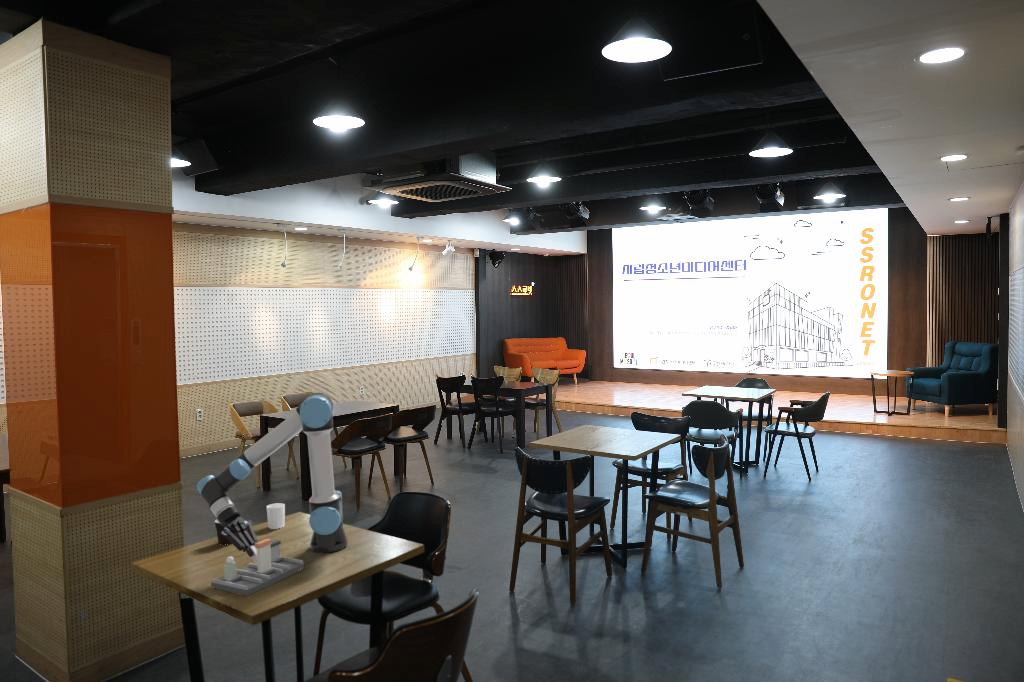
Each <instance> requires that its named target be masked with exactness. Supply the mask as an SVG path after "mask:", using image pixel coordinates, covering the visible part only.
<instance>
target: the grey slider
mask: <svg viewBox="0 0 1024 682" xmlns="http://www.w3.org/2000/svg"><path fill="white" fill-rule="evenodd" d="M281 543H282V540H279V539H274V540H272V544H270V547H271V562H272V563H276V562H278V561H280V560H282V557H280V556H281V549H280V548H281V547H280V545H281Z"/></svg>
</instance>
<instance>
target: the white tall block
mask: <svg viewBox="0 0 1024 682" xmlns="http://www.w3.org/2000/svg"><path fill="white" fill-rule="evenodd" d="M272 541H273V540H272V539H270V538H265V539H263V540H260V541H258V542H257V543H255V548H257V568H258V571H255V573H259V574H264V575H267V574H269V573H271V572H273V571H274V568H271V547H270V544H272Z"/></svg>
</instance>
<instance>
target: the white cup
mask: <svg viewBox="0 0 1024 682" xmlns="http://www.w3.org/2000/svg"><path fill="white" fill-rule="evenodd" d="M266 514H267V524H268V529H269V528H270V529H269V530H280V529H283V528H284V527H285V520H286V518H285V517H286V504H285V503H284V502H283V503H281V502H278V503H277V502H275V503H271V504H268V505H266ZM272 521H273V522H272ZM282 527H283V528H282ZM279 528H280V529H279Z"/></svg>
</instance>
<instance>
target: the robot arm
mask: <svg viewBox="0 0 1024 682" xmlns="http://www.w3.org/2000/svg"><path fill="white" fill-rule="evenodd" d="M333 411H334V404H333V401H332V399H331V397H330V396H328V394H325V393H323V392H314V393H311V394H309V395H308V396H307V397H306V398H305V400H304V401H302V403H300V404H299V405H298V406H297V407H296V408H295V410H294V413H292V414H291V415H290V416H288V417H287V418H286V419H284V421H282V422H280V424H278V425H277V426H275V428H274V427H273V429H272V430H270V431H269V432H268V433H266V434H265V435H264V436H262V437H261V438H260V439H259V440H257V441H256V442H254V444H252V445H251V446H250V447H248V448H247V449H246V450H244V452H242V453H241V454H239V455H238V456H236V457H235V458H233V459H232V461H230V464H228V465H227V466H226V467H225V468H224V469H223V470H222V471H221V472H219V473H218V474H217V475H213V474H210V475H207V476H205V477H204V478H201V479H200V480H199V481H198V482H197V485H196V489H197V491H198V493H199V494H200V497H201V498H202V499H203V500H204V502H205V503H206V504H207V506H208V508H209V509H210V511H211V512H212V513H213V515H214V516H215V518H216V520H218V521H219V523H220V524H221V525H222V526H223V528H224V530H223V531H222V533H221V535H222V536H224V537H226V538H227V539H228V540H229V541H230V542H231V543H232V544H231V545H233V546H234V547H235V548H236V549H237V550H238V551H239V552H243V553H246V554H247V555H248V557H249V558H251V559H252V560H253V562H254V563H256V565H257V548H255V543H257V542H259V540H258V537H257V535H256V533H255V530H254V527H253V525H252V520H251V519H248V521H247V520H245V519H244V518H242V517H241V513H240V511H239V509H238V508H237V507H236V506H235V504H234V502H233V501H232V500H231V498H230V497H229V496H228V493H229V492H230V491H231V490H232V489H233V488H235V487H236V486H237V485H239V484H240V483H241V482H242V481H243V480H245V479H246V478H247V477H248V476H249V475H250V474H251V472H252V470H253V469H255V468H256V467H257V466H258V465H259V464H261V463H262V462H263V461H265V460H267V458H268V457H270V456H271V455H273V454H274V453H275V452H276V451H278V450H279V449H280V448H282V447H283V446H284V445H285V444H288V442H289V441H290V440H292V439H293V438H294V437H296V436H297V435H298V434H299V433H301V432H303V433H304V434H305V435H306V437H307V438H306V439H307V446H308V447H307V449H308V458H309V461H308V462H309V471H310V482H311V483H310V484H311V493H312V495H311V497H309V500H308V505H309V518H308V524H309V526H310V528H311V530H312V531H313V532H312V534H311V535H312V536H311V539H310V541H309V548H310V551H312V550H313V551H312V552H314V551H315V552H314V553H319V552H327V553H333V552H332V551H334V552H338V551H340V550H339V549H341V550H343V549H342V548H344V547H345V546H347V545H349V539H348V536H347V533H346V531H345V529H344V524H343V523H344V522H343V520H344V519H343V496H342V494H343V493H342V492H341V491H340V490H336V489H335V477H334V465H333V453H332V443H331V432H332V431H333V429H334V418H333V416H334V415H333ZM347 547H348V546H347ZM344 549H345V548H344ZM337 550H338V551H337Z"/></svg>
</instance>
